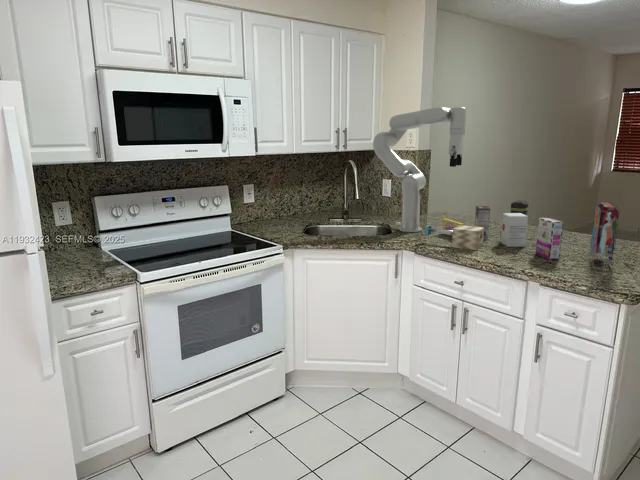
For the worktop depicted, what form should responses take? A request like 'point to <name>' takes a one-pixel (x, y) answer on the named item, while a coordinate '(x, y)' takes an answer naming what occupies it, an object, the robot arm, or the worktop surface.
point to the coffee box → (483, 219)
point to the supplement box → (514, 229)
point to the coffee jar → (519, 207)
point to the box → (604, 232)
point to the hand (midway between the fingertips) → (455, 165)
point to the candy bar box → (549, 238)
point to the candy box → (450, 224)
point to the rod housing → (467, 237)
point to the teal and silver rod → (436, 231)
